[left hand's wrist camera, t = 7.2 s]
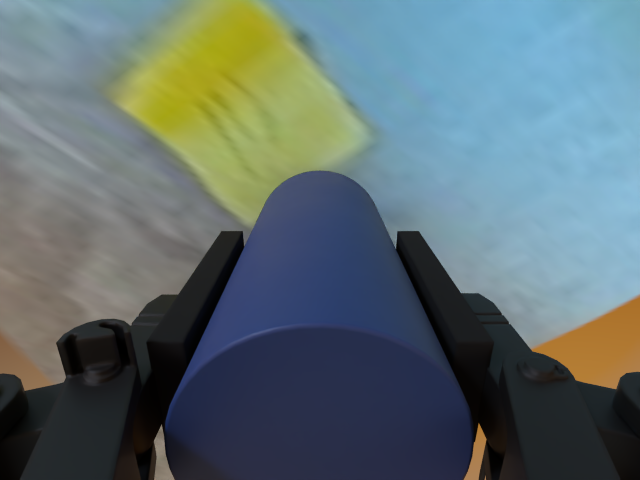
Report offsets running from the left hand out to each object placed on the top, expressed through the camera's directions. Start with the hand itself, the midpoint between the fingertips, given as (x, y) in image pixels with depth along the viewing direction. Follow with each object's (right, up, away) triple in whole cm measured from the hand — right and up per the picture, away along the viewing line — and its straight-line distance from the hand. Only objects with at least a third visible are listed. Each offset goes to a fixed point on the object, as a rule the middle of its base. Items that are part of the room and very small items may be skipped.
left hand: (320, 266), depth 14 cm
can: (0, +1, +4) cm, 4 cm away
